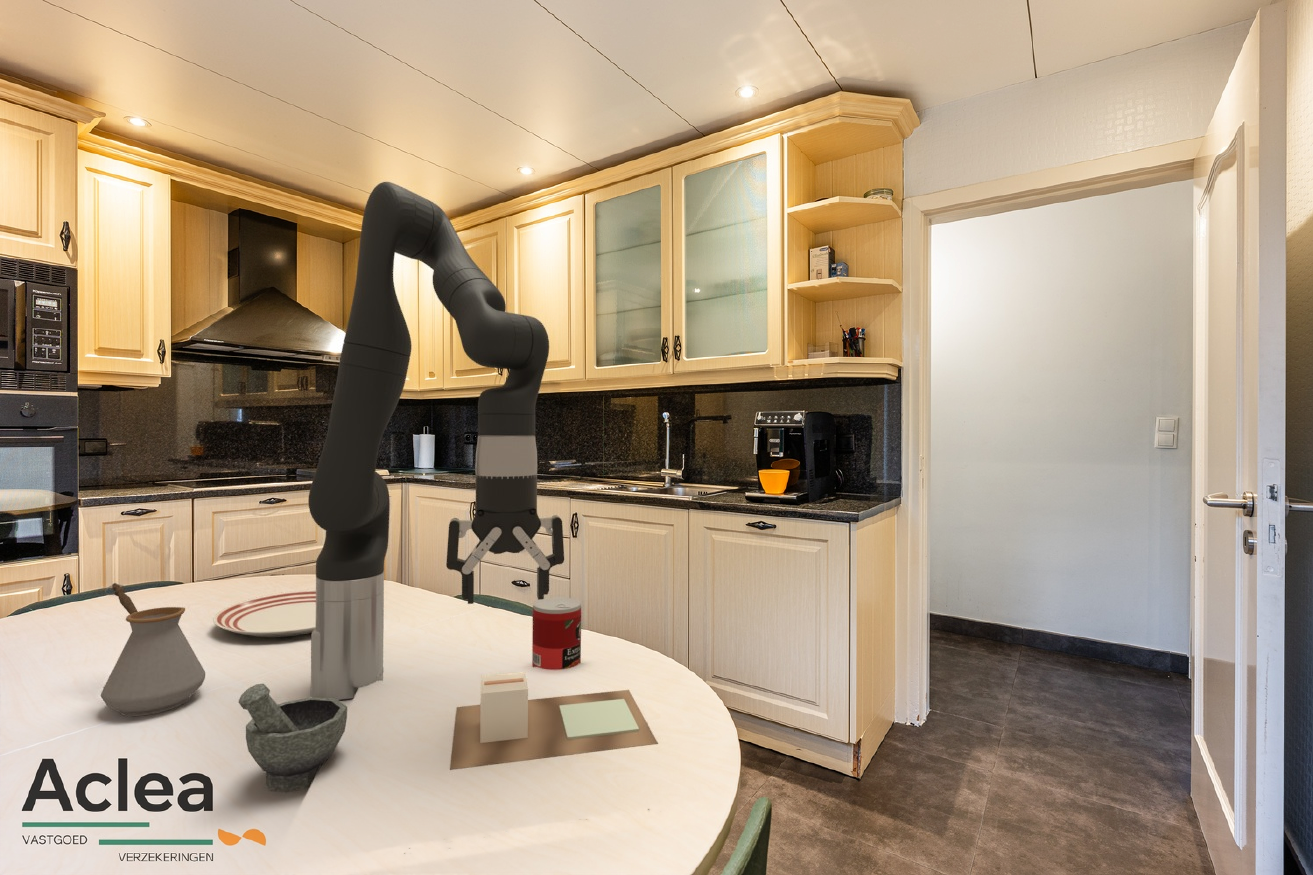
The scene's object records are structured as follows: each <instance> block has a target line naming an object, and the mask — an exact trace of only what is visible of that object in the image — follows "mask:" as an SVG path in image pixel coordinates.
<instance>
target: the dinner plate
mask: <svg viewBox="0 0 1313 875" xmlns="http://www.w3.org/2000/svg"><path fill="white" fill-rule="evenodd" d="M212 620H213V623H214V625H215V626H217V627H219V628H221V629H223V630H224V631H225V630H226V631H228V632H232V633H235V634H241V635H248V636H252V637H259V638H283V637H285V638H286V637H293V636H295V637H296V636H300V635H301V636H302V635H307V634H312V632H313V631H314V629H315V628H316V589H310V590H309V589H307V590H298V591H297V590H295V591H289V592H288V591H287V592H281V593H280V592H279V593H274V594H267V595H264V596H263V595H262V596H259V597H254V598H250V599H247V600H243V601H240V602H237V603H234V604H231V605H229V606H227V607H225V608H223V609H221V610H219V611H218V612H216V613H215V614H214V616H213V618H212Z"/></svg>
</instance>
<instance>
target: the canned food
mask: <svg viewBox="0 0 1313 875" xmlns="http://www.w3.org/2000/svg"><path fill="white" fill-rule="evenodd" d="M531 642H532V643H531V644H532V646H531V647H532V650H531V652H532V653H531V654H532V656H531V657H532V659H531V661H532V668H539V669H543V670H550V671H551V670H554V671H555V670H556V671H557V670H566V669H571V668H574V667H575V666H578V665H579V664H582V663H581V662H582V661H581V660H582V658H581V656H582V653H581V652H582V603H581V601H580V600H578V599H575V598H572V597H566V596H553V597H544V599H541V600H538V599H537V600H536V601H534V602H533V605H532V641H531Z"/></svg>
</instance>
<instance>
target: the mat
mask: <svg viewBox="0 0 1313 875" xmlns="http://www.w3.org/2000/svg"><path fill="white" fill-rule="evenodd" d="M559 708H560V712H561V716H562V720H563V724H564V728H565V731H566V735H567V739H568V740H570V739H578V738H587V737H595V736H603V735H612V734H620V733H629V732H637V731H639V728H638V726H637V724H636V722H635V720H634V718H633V716H632V714H631V712H630V710H629V708H628V706H627V704H626V702H625V700H624V699H618V700H608V701H598V702H589V703H579V704H569V705H560V706H559Z"/></svg>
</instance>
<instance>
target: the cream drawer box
mask: <svg viewBox="0 0 1313 875" xmlns="http://www.w3.org/2000/svg"><path fill="white" fill-rule="evenodd" d="M528 687H529V686H528V678H527V673H526V671H521V672H507V673H499V674H498V673H497V674H485V675H483V674H482V675H481V676H480V705H481V718H480V743H485V742H494V741H503V740H511V739H520V738H528V700H529V688H528Z"/></svg>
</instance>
